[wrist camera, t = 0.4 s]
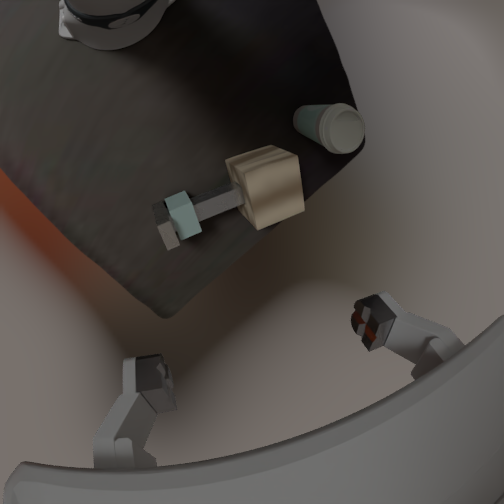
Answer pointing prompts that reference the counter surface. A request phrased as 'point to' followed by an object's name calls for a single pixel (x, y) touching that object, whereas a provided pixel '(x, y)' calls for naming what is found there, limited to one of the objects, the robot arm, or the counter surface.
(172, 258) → the counter surface
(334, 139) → the coffee cup
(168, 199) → the pale teal block
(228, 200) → the grey elongated piece
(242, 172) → the block
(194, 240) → the counter surface
